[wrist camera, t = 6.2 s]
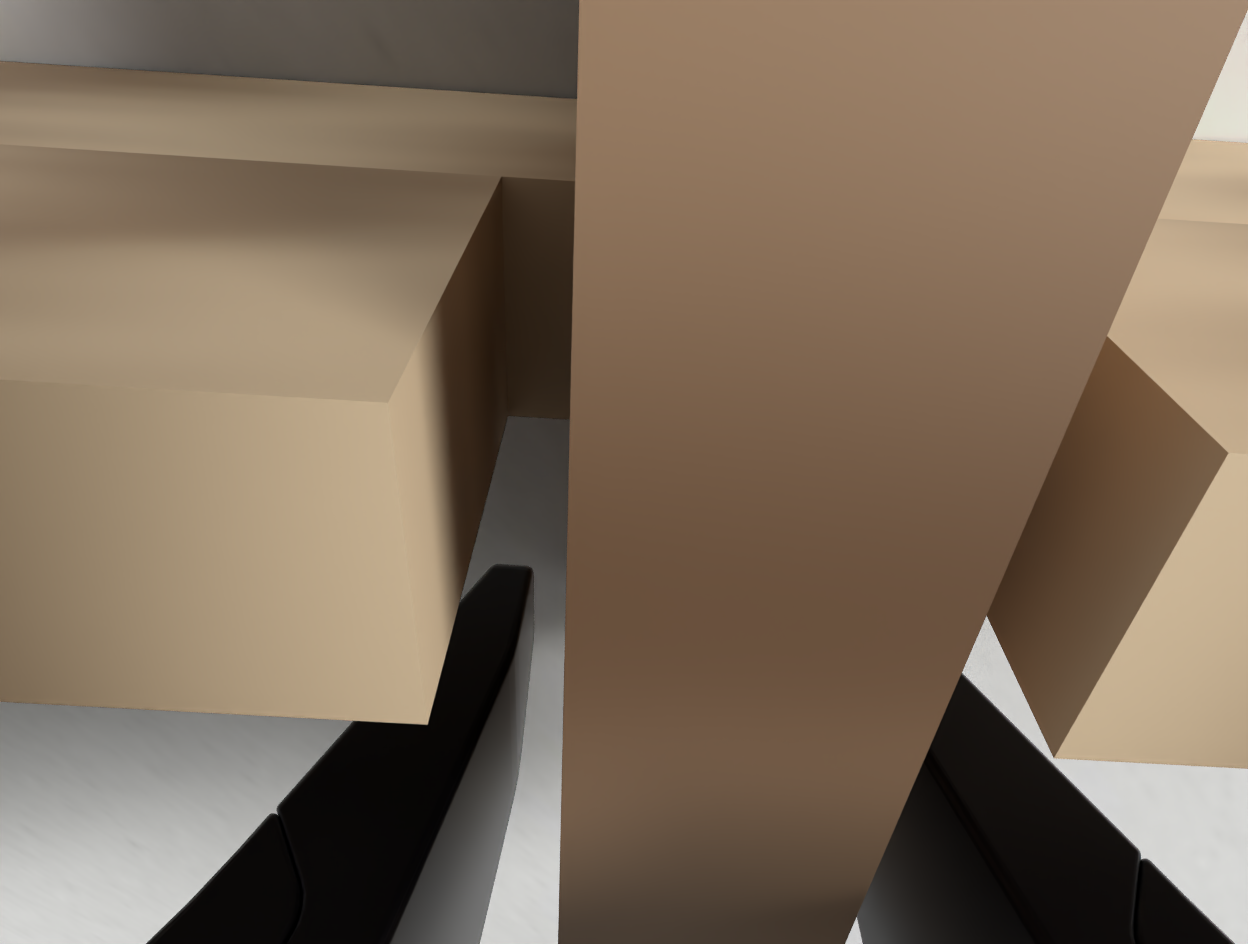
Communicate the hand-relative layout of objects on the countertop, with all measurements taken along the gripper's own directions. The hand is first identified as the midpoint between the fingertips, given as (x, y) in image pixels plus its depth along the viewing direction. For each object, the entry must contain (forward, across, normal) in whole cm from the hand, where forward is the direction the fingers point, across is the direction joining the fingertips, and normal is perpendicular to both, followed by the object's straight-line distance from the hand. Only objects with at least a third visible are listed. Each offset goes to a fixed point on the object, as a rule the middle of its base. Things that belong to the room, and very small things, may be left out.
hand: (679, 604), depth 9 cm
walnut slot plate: (+2, 0, -3) cm, 4 cm away
